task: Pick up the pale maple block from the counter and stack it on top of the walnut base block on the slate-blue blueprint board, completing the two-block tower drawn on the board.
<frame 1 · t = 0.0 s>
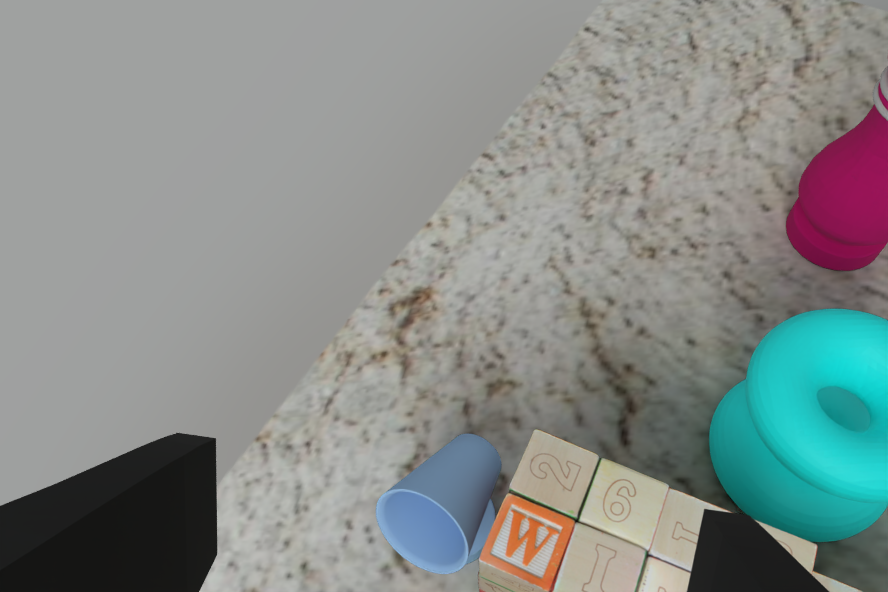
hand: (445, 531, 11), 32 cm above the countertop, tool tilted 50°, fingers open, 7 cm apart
donuts: (789, 461, 45), on the countertop
spotlight: (451, 532, 43), on the countertop
pepper mill: (830, 236, 53), on the countertop
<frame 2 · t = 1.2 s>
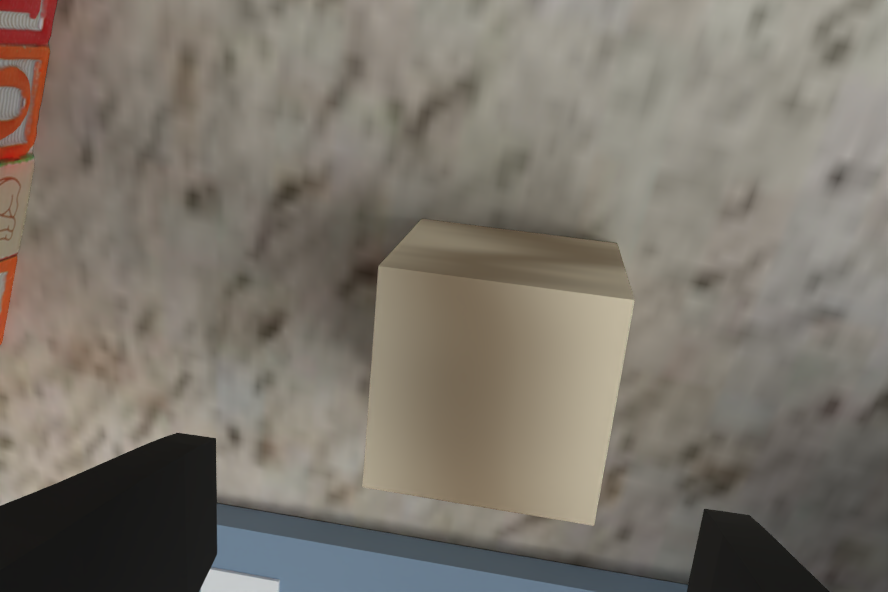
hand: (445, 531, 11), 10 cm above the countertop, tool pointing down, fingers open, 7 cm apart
maple block: (506, 321, 20), on the countertop
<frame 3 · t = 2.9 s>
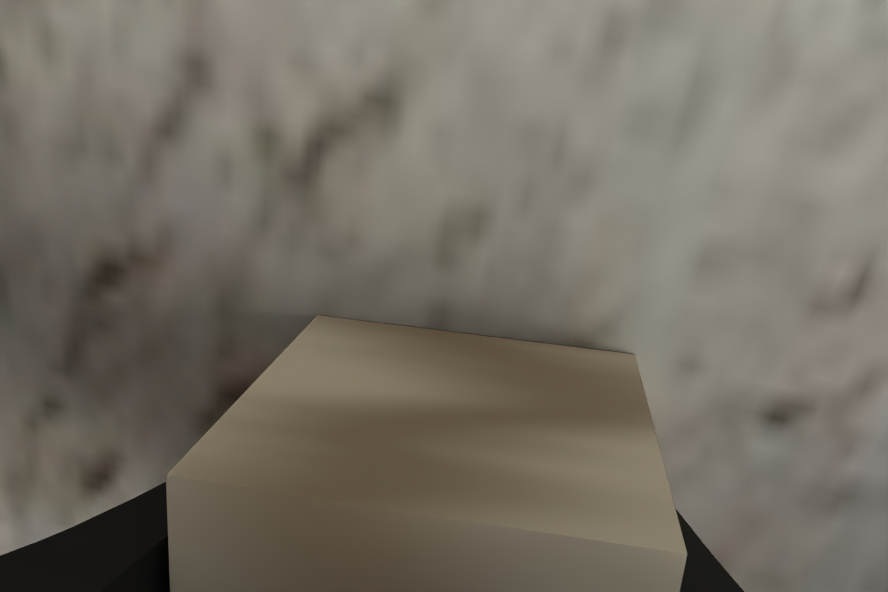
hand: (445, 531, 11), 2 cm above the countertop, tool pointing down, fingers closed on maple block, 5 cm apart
maple block: (458, 474, 13), on the countertop, touching gripper
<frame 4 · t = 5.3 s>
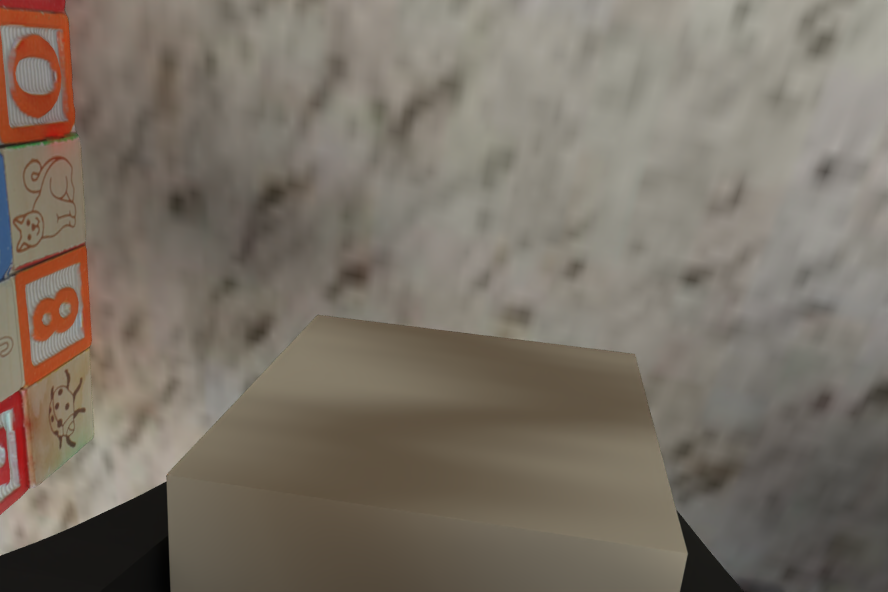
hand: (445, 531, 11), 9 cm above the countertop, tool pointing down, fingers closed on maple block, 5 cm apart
maple block: (459, 474, 13), point 8 cm above the countertop, touching gripper
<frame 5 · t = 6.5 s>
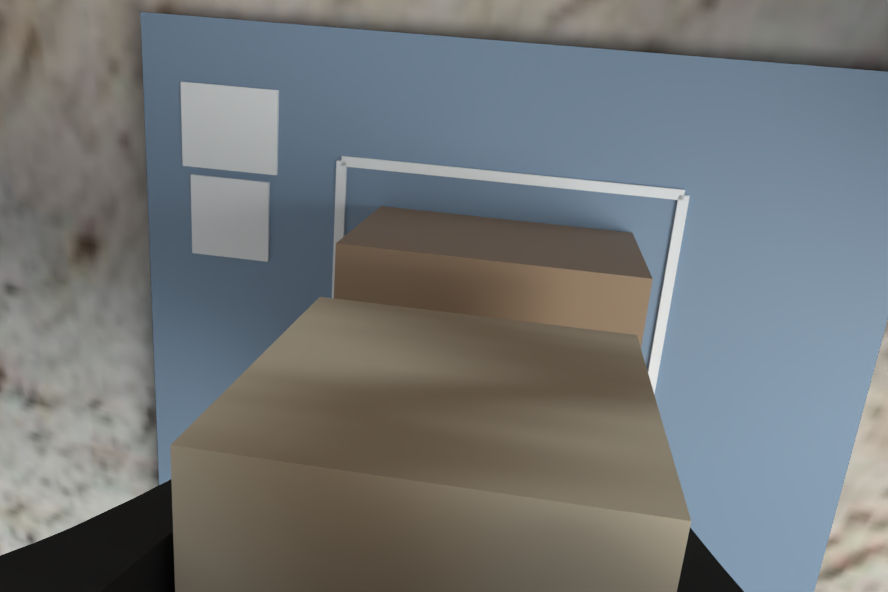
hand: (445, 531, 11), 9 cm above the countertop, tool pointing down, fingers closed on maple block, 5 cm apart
blueprint board: (495, 323, 20), on the countertop
maple block: (461, 457, 13), point 8 cm above the countertop, touching gripper
when the fingers open (8 cm above the countertop, at t = 7.7 s): maple block drops 1 cm, resting on blueprint board.
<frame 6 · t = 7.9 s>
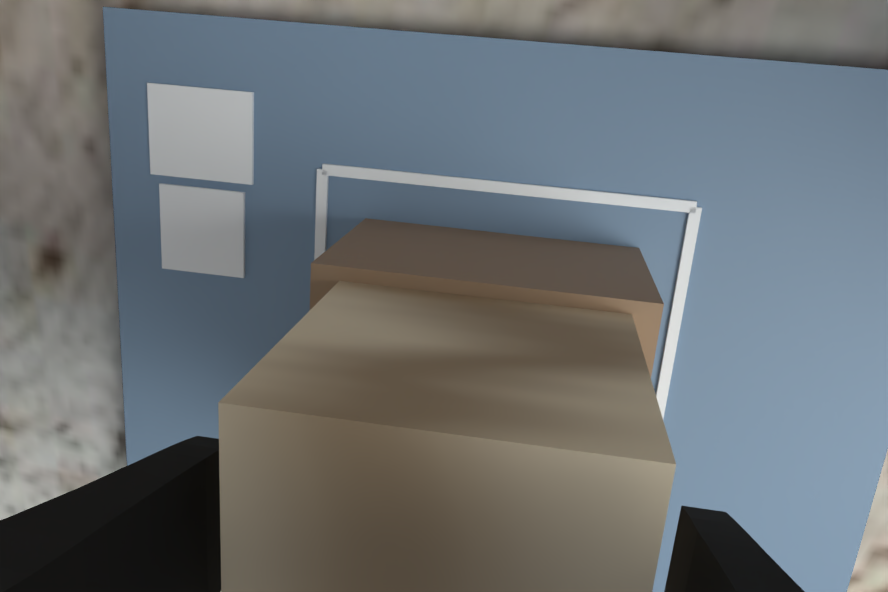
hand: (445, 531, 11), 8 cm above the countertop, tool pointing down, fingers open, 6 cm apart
blueprint board: (490, 344, 19), on the countertop
maple block: (469, 429, 14), point 5 cm above the countertop, touching blueprint board
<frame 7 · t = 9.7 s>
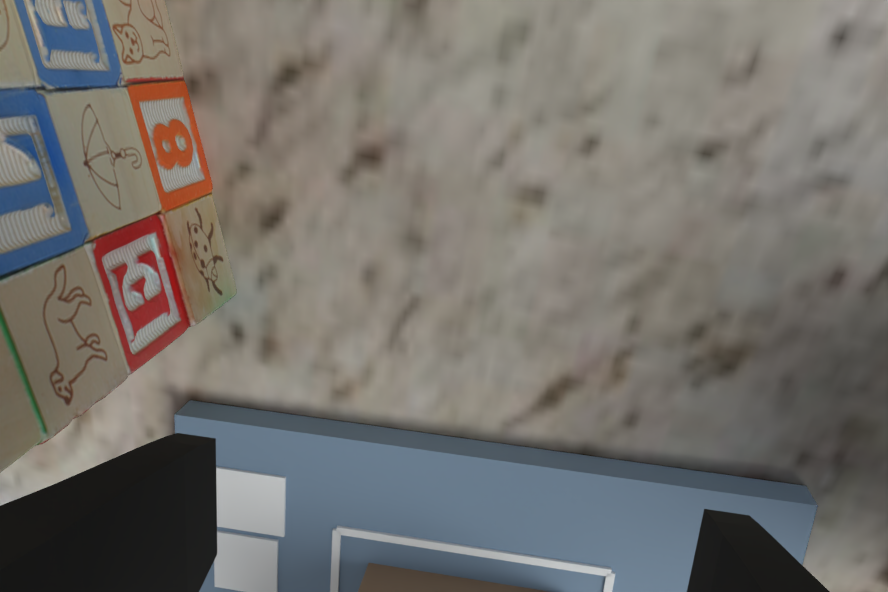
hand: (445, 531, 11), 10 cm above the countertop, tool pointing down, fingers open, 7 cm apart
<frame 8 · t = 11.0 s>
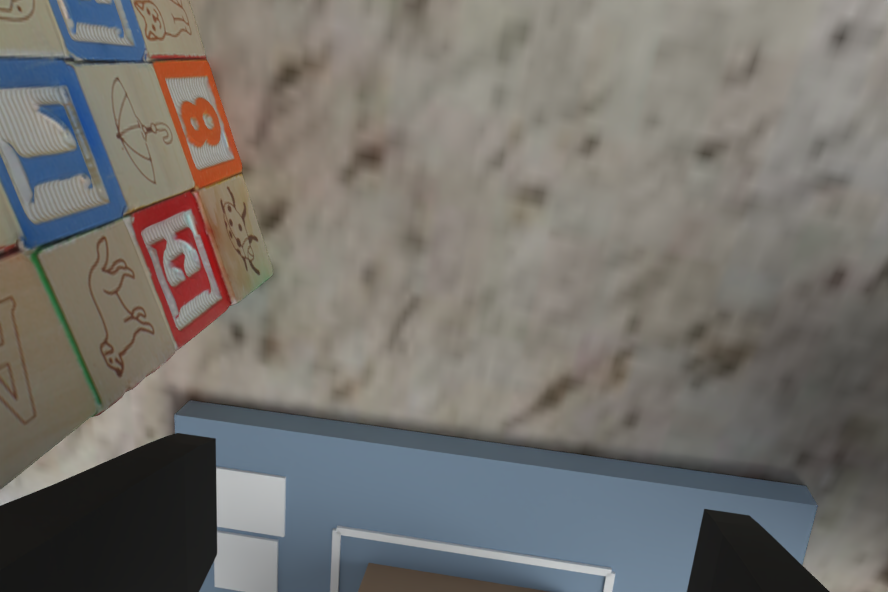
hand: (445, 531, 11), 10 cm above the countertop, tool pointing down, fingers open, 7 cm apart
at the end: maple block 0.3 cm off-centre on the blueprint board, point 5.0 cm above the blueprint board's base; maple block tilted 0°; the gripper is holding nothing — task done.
